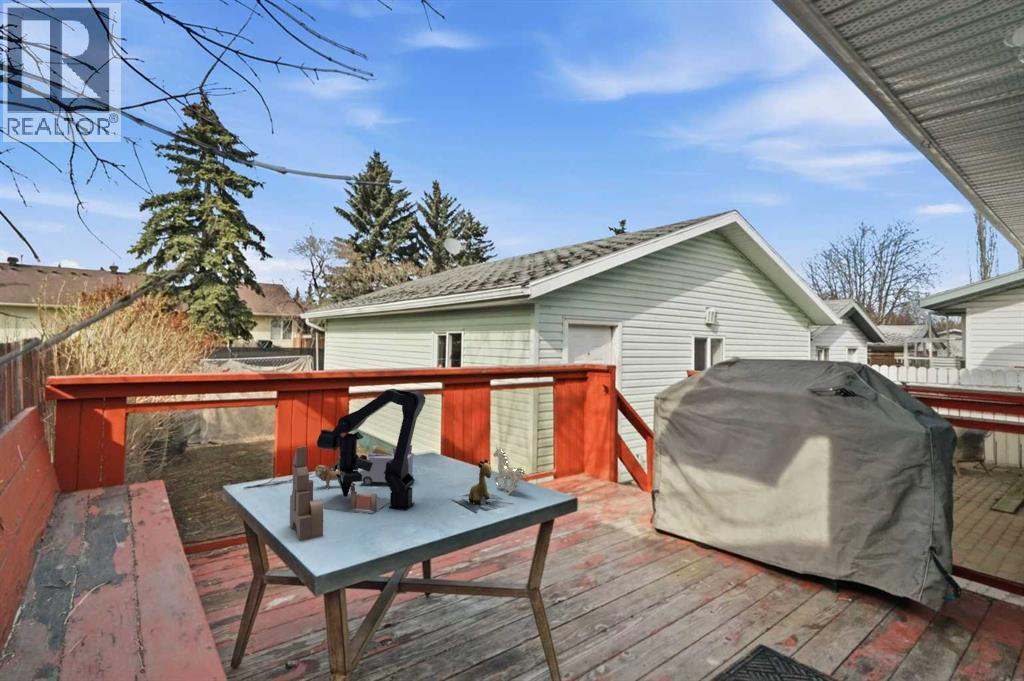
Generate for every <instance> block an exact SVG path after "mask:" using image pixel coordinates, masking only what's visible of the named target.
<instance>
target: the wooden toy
mask: <svg viewBox="0 0 1024 681" xmlns="http://www.w3.org/2000/svg"><path fill="white" fill-rule="evenodd" d="M292 464H293V466H292V491H291V494H290V495H289V496H290V497H289V526H290V528H291V529H292V530H296V537H297V538H298V540H299V541H300V540H302V541H305V540H311V539H314V538H318V536H319V537H322V536H324V509H323V506H322V504H323V502H322V499H320V498H319V499H314V480H313V479H310V474H309V469H308V468H309V467H308V466H307V446H306V445H305V446H298V447H296V449H295V454H294V457H293V460H292Z"/></svg>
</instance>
